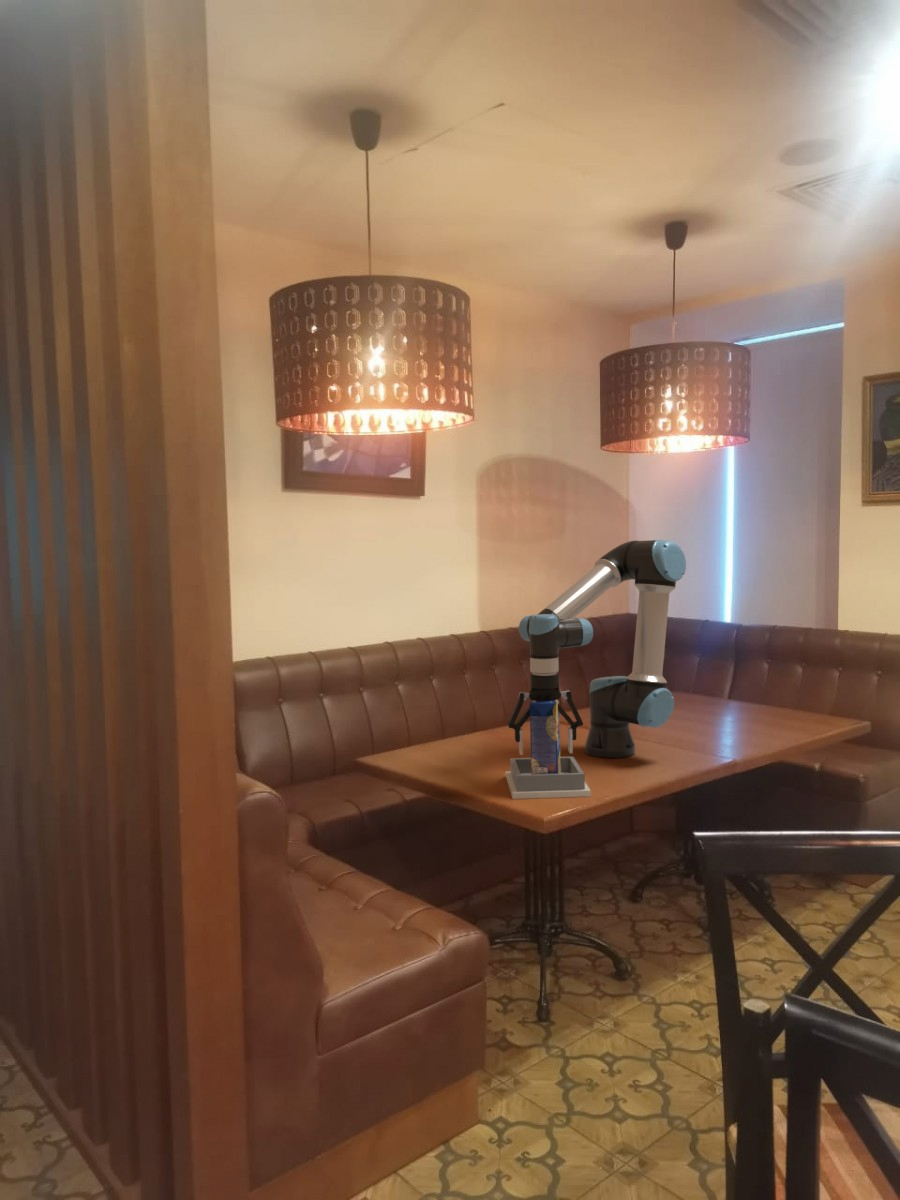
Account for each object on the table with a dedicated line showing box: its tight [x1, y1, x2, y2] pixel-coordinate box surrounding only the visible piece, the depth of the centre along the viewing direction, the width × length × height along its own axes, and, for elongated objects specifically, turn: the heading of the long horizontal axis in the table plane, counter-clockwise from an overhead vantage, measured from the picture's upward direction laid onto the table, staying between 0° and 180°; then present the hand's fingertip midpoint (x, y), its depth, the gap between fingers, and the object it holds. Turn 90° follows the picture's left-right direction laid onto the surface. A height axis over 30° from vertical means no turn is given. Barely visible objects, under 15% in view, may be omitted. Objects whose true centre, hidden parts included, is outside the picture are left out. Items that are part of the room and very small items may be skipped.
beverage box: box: [529, 699, 561, 774], centre depth 226 cm, size 7×11×22 cm, turn 169°
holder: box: [505, 756, 592, 800], centre depth 227 cm, size 20×20×6 cm
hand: (545, 752), depth 226 cm, fingers open, 12 cm apart
